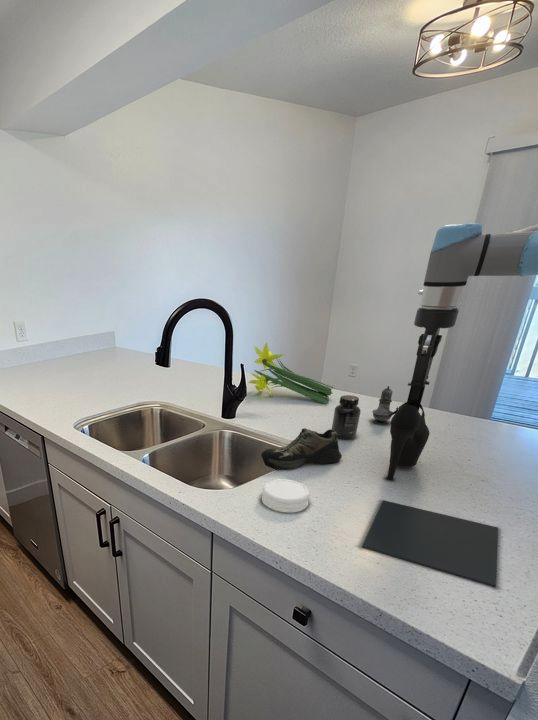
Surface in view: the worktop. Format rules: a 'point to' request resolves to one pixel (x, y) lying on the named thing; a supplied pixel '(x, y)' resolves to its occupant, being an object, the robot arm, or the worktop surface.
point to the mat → (435, 541)
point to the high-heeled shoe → (407, 436)
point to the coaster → (285, 495)
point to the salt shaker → (383, 408)
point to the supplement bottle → (346, 417)
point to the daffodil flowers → (266, 358)
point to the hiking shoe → (304, 451)
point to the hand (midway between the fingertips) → (411, 412)
